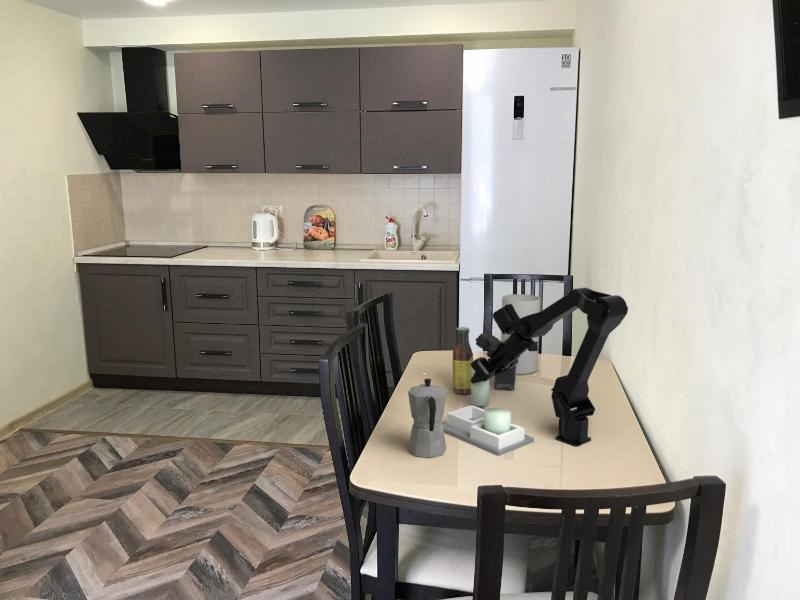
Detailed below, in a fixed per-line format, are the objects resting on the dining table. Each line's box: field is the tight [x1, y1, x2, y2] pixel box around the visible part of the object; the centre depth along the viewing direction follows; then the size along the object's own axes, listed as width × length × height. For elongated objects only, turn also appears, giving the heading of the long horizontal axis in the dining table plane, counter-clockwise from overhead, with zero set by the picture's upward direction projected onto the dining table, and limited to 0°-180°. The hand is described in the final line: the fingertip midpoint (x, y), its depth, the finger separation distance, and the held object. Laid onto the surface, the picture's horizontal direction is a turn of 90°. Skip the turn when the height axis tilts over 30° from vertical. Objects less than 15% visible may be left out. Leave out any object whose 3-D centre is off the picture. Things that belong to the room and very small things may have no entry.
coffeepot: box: [407, 378, 448, 459], centre depth 154 cm, size 15×9×18 cm, turn 6°
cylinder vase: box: [500, 293, 541, 376], centre depth 219 cm, size 12×12×25 cm
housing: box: [442, 404, 535, 457], centre depth 165 cm, size 21×13×8 cm, turn 40°
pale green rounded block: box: [470, 368, 490, 407], centre depth 184 cm, size 5×5×10 cm
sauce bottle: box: [452, 326, 474, 395], centre depth 197 cm, size 6×6×20 cm
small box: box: [493, 364, 517, 391], centre depth 205 cm, size 11×6×10 cm, turn 168°
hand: (476, 379), depth 185 cm, fingers closed on pale green rounded block, 5 cm apart
